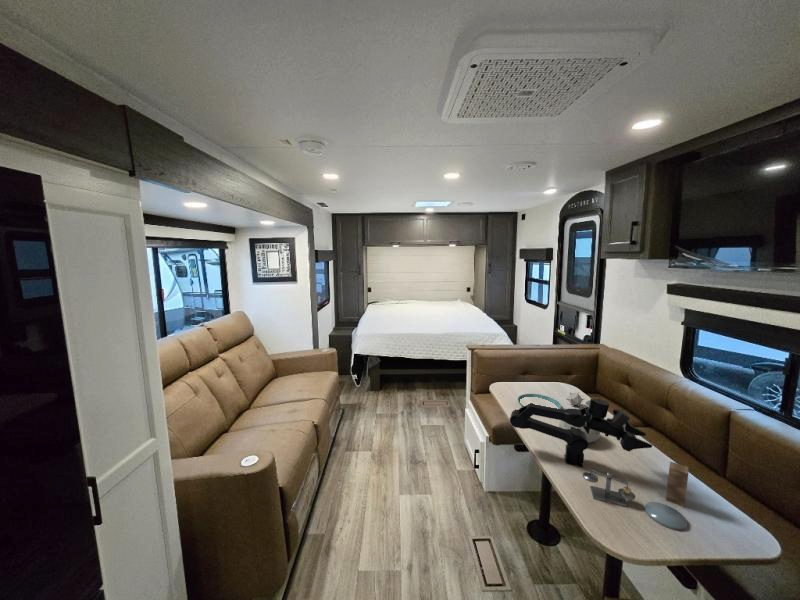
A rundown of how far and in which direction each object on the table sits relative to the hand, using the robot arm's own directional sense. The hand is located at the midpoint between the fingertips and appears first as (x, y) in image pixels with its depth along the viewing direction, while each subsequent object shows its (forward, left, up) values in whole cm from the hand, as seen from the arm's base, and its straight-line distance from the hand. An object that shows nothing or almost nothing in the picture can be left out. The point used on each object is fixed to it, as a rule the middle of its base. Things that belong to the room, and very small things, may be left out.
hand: (648, 440), depth 125 cm
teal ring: (-38, +53, -17) cm, 68 cm away
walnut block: (+7, -9, -17) cm, 20 cm away
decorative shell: (-20, +25, -17) cm, 36 cm away
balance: (-16, -17, -17) cm, 29 cm away
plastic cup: (-10, +42, -17) cm, 46 cm away
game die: (-17, +64, -17) cm, 68 cm away
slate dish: (0, -20, -17) cm, 26 cm away
